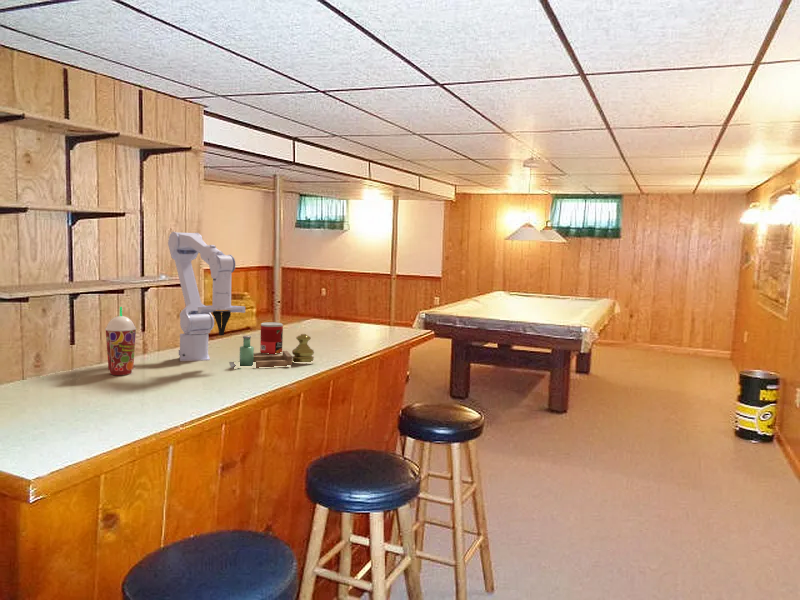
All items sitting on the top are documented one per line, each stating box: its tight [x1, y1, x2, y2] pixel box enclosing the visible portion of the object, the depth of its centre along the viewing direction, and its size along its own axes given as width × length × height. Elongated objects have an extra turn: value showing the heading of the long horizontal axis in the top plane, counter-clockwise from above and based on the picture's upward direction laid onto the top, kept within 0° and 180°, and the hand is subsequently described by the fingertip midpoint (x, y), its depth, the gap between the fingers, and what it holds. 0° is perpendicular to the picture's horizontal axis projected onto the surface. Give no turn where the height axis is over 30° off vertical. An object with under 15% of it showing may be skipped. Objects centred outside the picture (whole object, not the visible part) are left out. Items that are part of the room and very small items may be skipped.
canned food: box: [259, 321, 284, 355], centre depth 220 cm, size 8×8×11 cm
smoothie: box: [104, 306, 137, 376], centre depth 179 cm, size 8×8×20 cm
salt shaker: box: [291, 333, 315, 362], centre depth 205 cm, size 7×7×10 cm
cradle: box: [228, 350, 293, 370], centre depth 199 cm, size 19×12×4 cm, turn 110°
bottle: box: [239, 335, 255, 366], centre depth 197 cm, size 4×4×10 cm
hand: (221, 334), depth 194 cm, fingers closed
